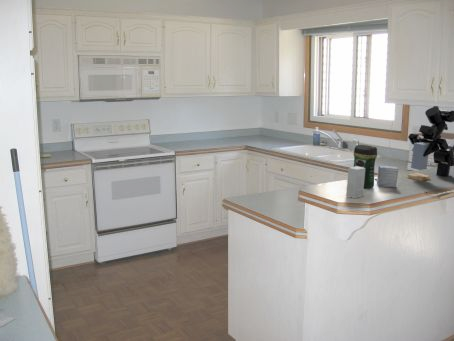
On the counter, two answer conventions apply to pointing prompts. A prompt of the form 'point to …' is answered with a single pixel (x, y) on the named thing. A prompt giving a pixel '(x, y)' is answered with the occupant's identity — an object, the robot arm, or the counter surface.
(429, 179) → the bottom slab
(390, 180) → the medicine box
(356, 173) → the skincare box
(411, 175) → the top slab
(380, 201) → the counter surface
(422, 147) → the slate block
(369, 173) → the coffee jar
